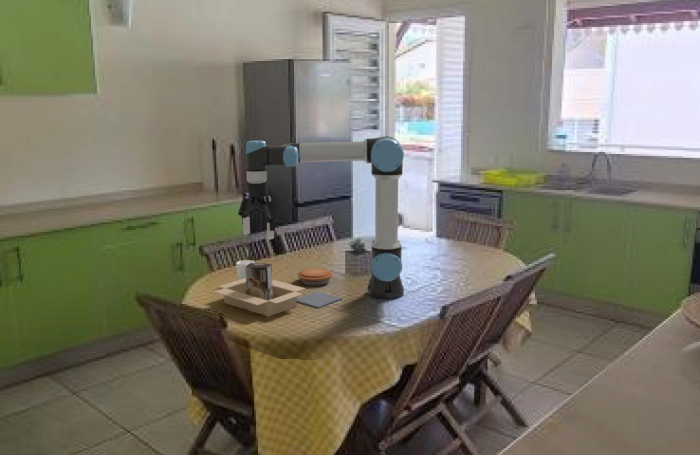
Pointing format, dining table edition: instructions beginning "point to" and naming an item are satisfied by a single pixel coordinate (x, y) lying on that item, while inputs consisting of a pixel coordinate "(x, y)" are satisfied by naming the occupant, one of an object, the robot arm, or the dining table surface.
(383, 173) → the robot arm
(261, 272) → the coffee box
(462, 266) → the dining table surface
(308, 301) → the mat
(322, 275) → the pie
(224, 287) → the carton
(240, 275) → the white cup
